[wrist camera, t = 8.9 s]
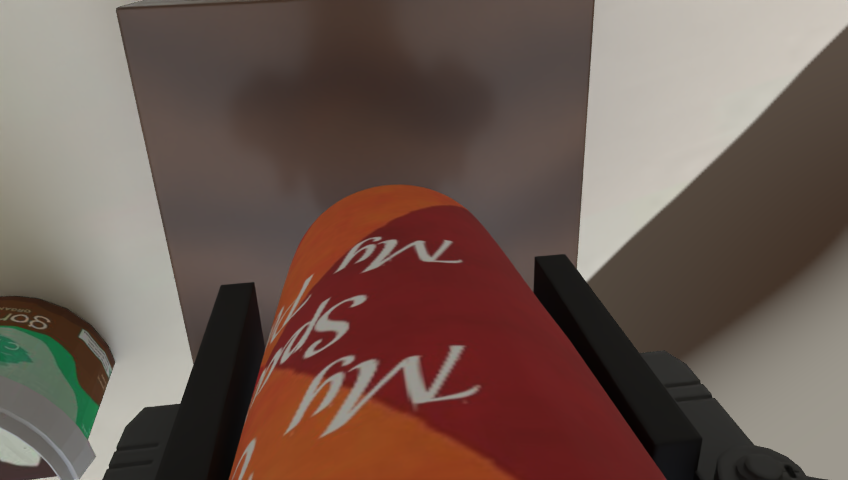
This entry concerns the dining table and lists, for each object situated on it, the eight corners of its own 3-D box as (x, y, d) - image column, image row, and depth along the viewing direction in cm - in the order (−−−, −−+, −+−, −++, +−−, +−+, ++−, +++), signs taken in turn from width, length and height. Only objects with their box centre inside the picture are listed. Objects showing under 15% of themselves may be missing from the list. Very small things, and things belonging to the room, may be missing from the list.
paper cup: (331, 85, 15) (311, 755, 3) (588, 223, 18) (1237, 934, 5) (199, 342, 18) (-149, 1351, 5) (442, 434, 20) (627, 1284, 7)
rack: (200, -17, 30) (89, 13, 17) (499, -31, 31) (623, -12, 18) (246, 256, 36) (191, 446, 22) (496, 235, 37) (588, 402, 24)
